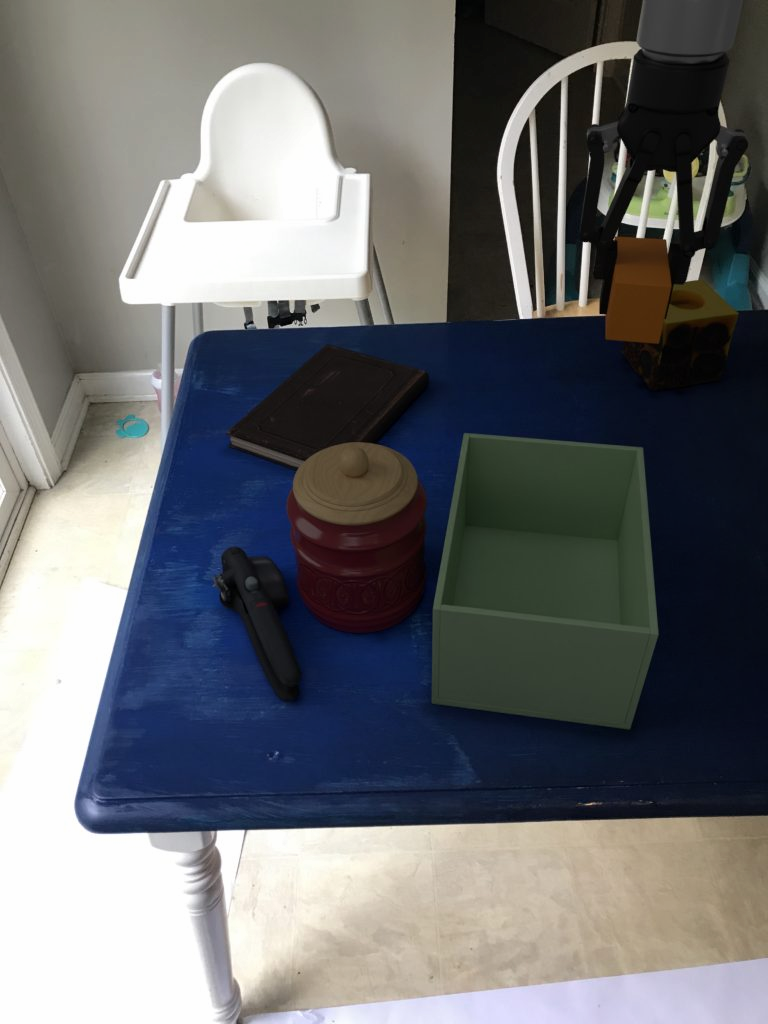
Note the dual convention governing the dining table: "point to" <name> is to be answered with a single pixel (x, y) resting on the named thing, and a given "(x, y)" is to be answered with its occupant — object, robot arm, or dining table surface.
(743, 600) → the dining table surface
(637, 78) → the robot arm
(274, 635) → the can opener
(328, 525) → the kitchen canister
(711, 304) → the cube with round hole
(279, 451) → the hardcover book
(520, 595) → the bin
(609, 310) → the block
